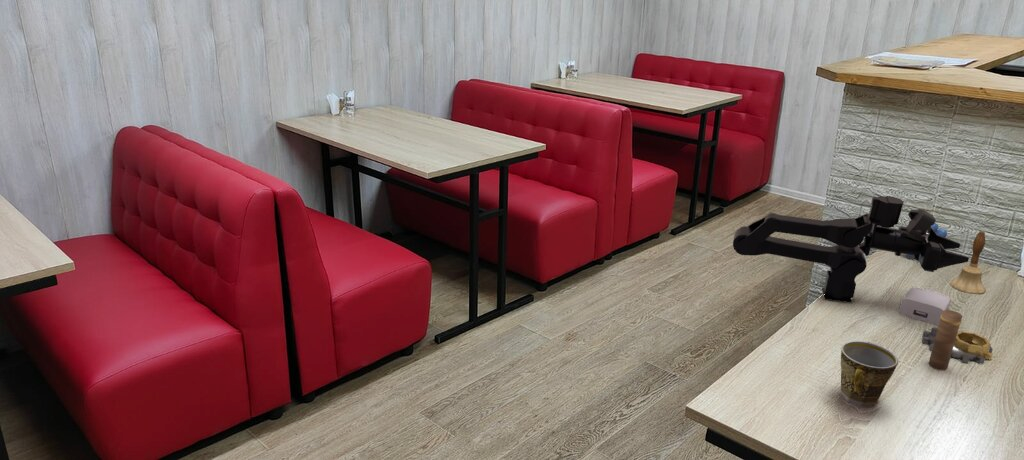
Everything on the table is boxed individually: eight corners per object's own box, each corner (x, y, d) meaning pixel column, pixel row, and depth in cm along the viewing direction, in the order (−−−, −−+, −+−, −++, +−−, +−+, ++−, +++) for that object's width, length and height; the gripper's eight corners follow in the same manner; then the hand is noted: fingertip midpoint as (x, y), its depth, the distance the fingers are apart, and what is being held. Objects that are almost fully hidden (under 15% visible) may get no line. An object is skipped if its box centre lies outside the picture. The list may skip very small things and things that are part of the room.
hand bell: (954, 291, 189) (969, 235, 183) (946, 278, 196) (961, 224, 190) (989, 296, 186) (1006, 239, 181) (980, 283, 194) (996, 228, 188)
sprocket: (929, 357, 157) (933, 344, 155) (915, 328, 169) (918, 316, 168) (1000, 368, 153) (1004, 355, 152) (980, 337, 165) (984, 325, 164)
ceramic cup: (840, 377, 148) (850, 335, 144) (892, 396, 142) (903, 353, 139) (820, 405, 139) (830, 361, 135) (875, 426, 133) (887, 381, 129)
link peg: (930, 368, 152) (944, 316, 148) (926, 359, 156) (939, 308, 151) (950, 371, 151) (965, 319, 147) (945, 362, 155) (959, 311, 150)
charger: (951, 305, 181) (940, 327, 170) (912, 294, 187) (898, 314, 176) (956, 288, 180) (944, 309, 169) (916, 278, 185) (902, 297, 174)
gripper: (907, 222, 163) (984, 234, 159) (896, 198, 180) (965, 209, 175) (894, 266, 168) (969, 279, 163) (884, 238, 184) (952, 250, 179)
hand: (964, 252), depth 170 cm, fingers open, 9 cm apart
